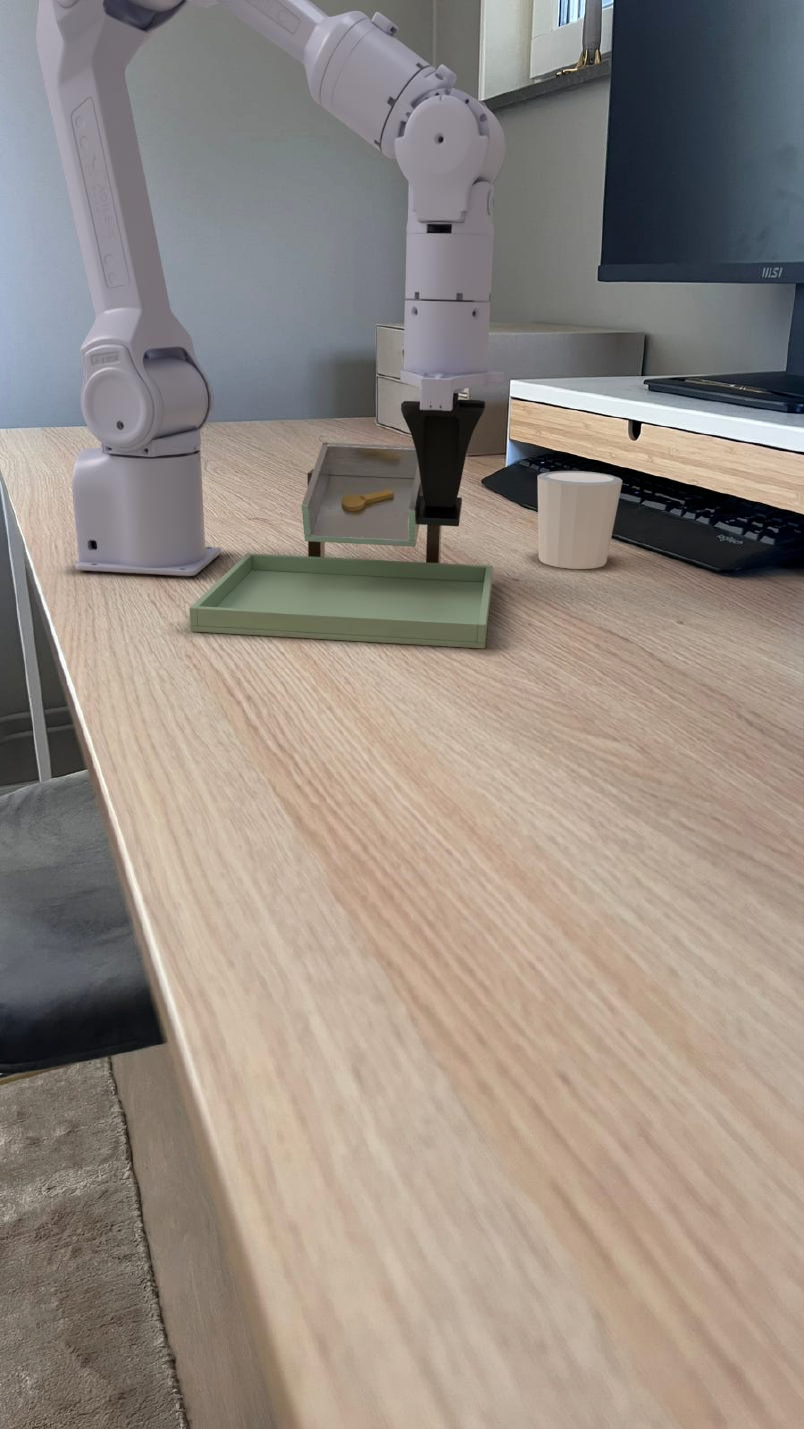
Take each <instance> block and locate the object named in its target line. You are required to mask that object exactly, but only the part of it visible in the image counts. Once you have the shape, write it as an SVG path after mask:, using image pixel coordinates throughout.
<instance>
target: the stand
mask: <svg viewBox="0 0 804 1429" xmlns="http://www.w3.org/2000/svg"><path fill="white" fill-rule="evenodd" d="M313 470H314V468H312V469H311V470H310V471H308V472H307V486H308V485H309V482H310V479H311V476H312V473H313ZM442 528H443V526H438V525H426V545H425V546H426V550H425V551H426V552H425V562H426V563H441V554H442V553H441V551H442V550H441V548H442ZM307 556H310V557H326V542H313V541H307Z"/></svg>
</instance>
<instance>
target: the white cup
mask: <svg viewBox="0 0 804 1429" xmlns="http://www.w3.org/2000/svg"><path fill="white" fill-rule="evenodd" d="M622 485H623V480H622V479H621V478H620V477H619V476H615V475H612V474H606V473H600V472H595V471H594V472H593V471H583V470H557V471H556V470H555V471H547V472H542V473H540V474H538V475H537V523H538V524H537V526H538V527H537V528H538V530H537V531H538V533H537V534H538V535H537V536H538V538H537V539H538V559H539V562H540V563H543V564H545V565H547V566H551V567H555V568H562V569H568V570H569V569H570V570H590V569H598V568H601V567H604V566H605V565H606V564H607V561H608V556H609V551H610V546H611V541H612V538H613V537H612V536H613V531H614V526H615V521H616V516H617V511H618V507H619V500H620V495H621V490H622Z"/></svg>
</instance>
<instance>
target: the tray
mask: <svg viewBox="0 0 804 1429" xmlns="http://www.w3.org/2000/svg"><path fill="white" fill-rule="evenodd" d="M493 570H494V566H493V565H482V564H466V563H465V564H463V563H445V562H440V563H426V561H425V562H423V561H407V560H406V561H404V560H403V561H402V560H387V559H386V560H384V559H367V558H347V557H345V558H344V557H330V556H329V557H327V556H325V557H310V556H308V555H292V554H291V555H289V554H287V555H286V554H272V553H271V554H270V553H269V554H268V553H251V552H250V553H249V552H247V553H245V555H244V556H242V557H241V558H240V559H239V560H238V561H237V562H236V563H235V564H234V565H233V566H232V567H231V568H230V569H229V570H227V571H226V573H225V574H223V576H221V577H220V579H218V580H217V581H216V582H215V583H214V584H213V585H212V586H211V587H209V589H207V590H206V592H204V593H203V594H202V595H201V596H200V597H199V598H197V600H196V601H195V602H193V604H192V605H190V607H189V610H188V611H189V625H190V626H189V627H190V630H189V631H190V632H197V633H211V634H229V635H230V634H231V635H245V636H247V635H248V636H265V637H282V638H298V639H315V640H329V641H330V640H332V641H349V642H363V643H364V642H366V643H380V644H381V643H383V644H398V645H399V644H401V645H414V646H415V645H418V646H432V647H451V648H467V649H468V648H469V649H483V650H484V649H485V648H486V642H487V641H486V640H487V632H488V623H489V614H490V606H491V596H492V587H493V574H494V573H493V572H494V571H493Z"/></svg>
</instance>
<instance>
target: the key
mask: <svg viewBox="0 0 804 1429" xmlns="http://www.w3.org/2000/svg"><path fill="white" fill-rule="evenodd" d="M390 498H394V493H393V492H392V490H391V489H388V490H384V491H380V492H376V493H371V494H367V495H363V496H362V495H359V494H350V495H347V496H345V497H343V499H342V507H343V508H344V509H346V510H348V511H358V510H361V509H363V508H364V507H365V506H366V504H369V503H374V502H378V501H382V500H386V499H390Z"/></svg>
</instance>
